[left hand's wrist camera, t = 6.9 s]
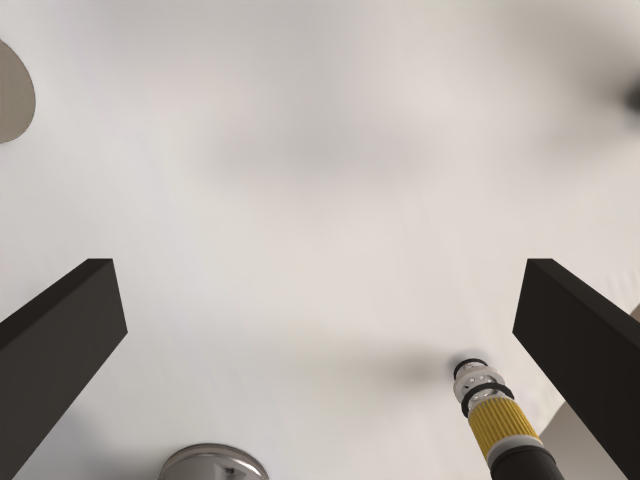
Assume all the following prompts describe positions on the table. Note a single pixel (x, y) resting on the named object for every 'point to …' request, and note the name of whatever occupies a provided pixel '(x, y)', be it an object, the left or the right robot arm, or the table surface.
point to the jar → (14, 95)
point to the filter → (501, 427)
